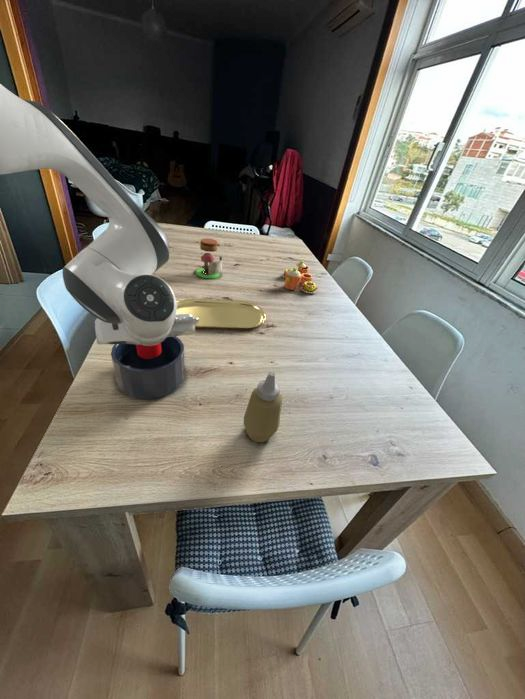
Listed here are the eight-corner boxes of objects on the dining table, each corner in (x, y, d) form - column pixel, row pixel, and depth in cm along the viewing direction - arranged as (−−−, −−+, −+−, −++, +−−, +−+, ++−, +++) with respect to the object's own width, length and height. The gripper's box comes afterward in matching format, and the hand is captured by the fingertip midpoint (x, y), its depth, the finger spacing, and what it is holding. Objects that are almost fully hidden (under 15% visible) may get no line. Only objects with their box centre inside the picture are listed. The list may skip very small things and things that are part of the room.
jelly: (140, 361, 69) (136, 332, 64) (134, 347, 72) (129, 319, 68) (165, 355, 72) (163, 327, 67) (157, 342, 75) (155, 315, 71)
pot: (126, 408, 67) (120, 379, 62) (110, 365, 78) (104, 337, 73) (194, 387, 76) (194, 360, 71) (172, 351, 86) (170, 325, 81)
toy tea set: (317, 296, 132) (323, 276, 126) (284, 292, 130) (288, 271, 125) (308, 273, 153) (313, 255, 147) (279, 270, 151) (282, 251, 146)
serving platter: (169, 301, 110) (169, 297, 109) (261, 305, 117) (261, 302, 116) (165, 328, 95) (164, 324, 94) (269, 331, 102) (270, 328, 102)
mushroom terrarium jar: (190, 277, 129) (190, 242, 120) (199, 267, 139) (200, 235, 130) (217, 282, 129) (219, 248, 120) (223, 271, 139) (225, 239, 130)
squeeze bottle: (262, 413, 72) (275, 356, 61) (283, 437, 67) (300, 379, 57) (235, 426, 68) (243, 367, 57) (255, 453, 63) (267, 394, 52)
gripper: (198, 303, 62) (189, 319, 74) (87, 310, 54) (98, 327, 66) (203, 332, 61) (192, 343, 74) (92, 344, 53) (101, 354, 66)
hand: (147, 335), depth 70 cm, fingers closed on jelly, 5 cm apart
